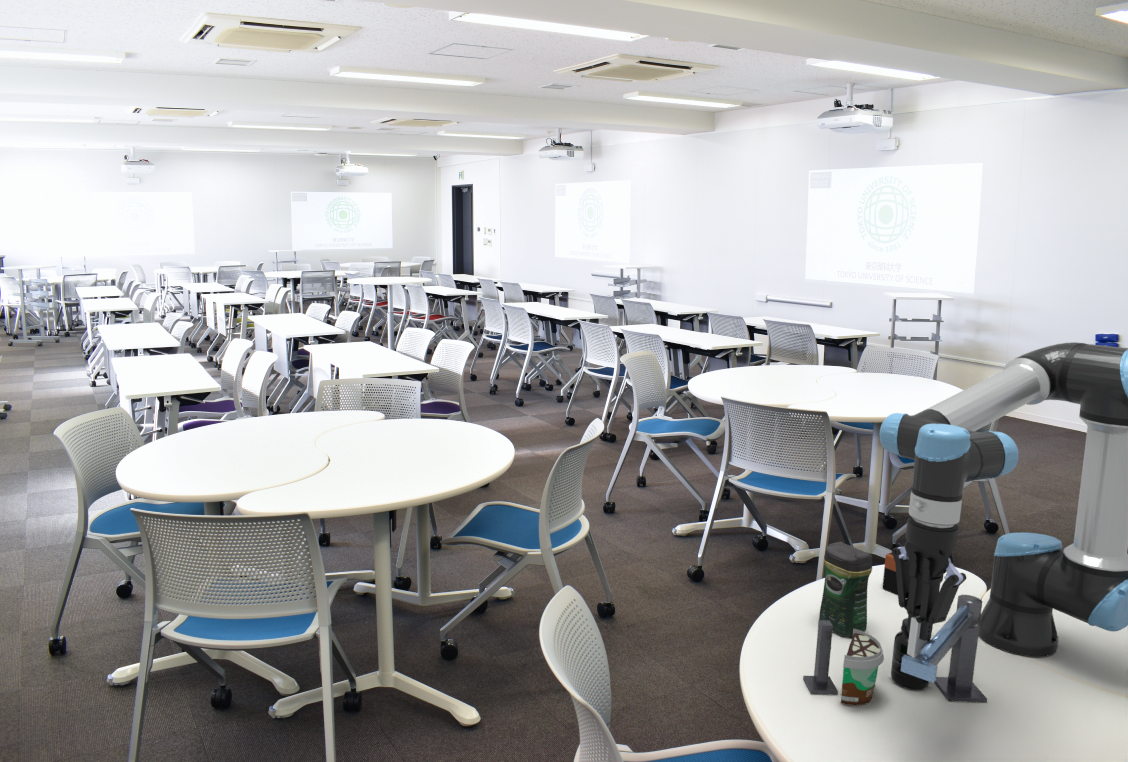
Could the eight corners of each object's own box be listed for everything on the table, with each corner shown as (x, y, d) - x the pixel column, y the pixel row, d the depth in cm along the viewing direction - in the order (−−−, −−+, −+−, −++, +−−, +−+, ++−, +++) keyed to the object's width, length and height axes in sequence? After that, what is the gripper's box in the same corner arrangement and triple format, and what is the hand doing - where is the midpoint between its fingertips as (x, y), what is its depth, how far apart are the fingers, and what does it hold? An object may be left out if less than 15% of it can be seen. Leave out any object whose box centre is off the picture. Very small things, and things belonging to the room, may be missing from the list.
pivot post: (968, 681, 152) (976, 615, 149) (987, 702, 145) (995, 634, 142) (931, 680, 152) (939, 614, 149) (948, 701, 145) (956, 632, 142)
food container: (875, 717, 140) (881, 665, 138) (839, 707, 142) (844, 656, 141) (883, 683, 150) (888, 635, 149) (849, 675, 153) (853, 627, 151)
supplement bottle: (932, 693, 147) (939, 634, 145) (894, 688, 149) (900, 629, 147) (924, 674, 154) (930, 617, 152) (887, 669, 155) (893, 613, 153)
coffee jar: (872, 633, 170) (880, 551, 167) (847, 641, 166) (854, 558, 163) (837, 614, 178) (844, 536, 175) (812, 621, 174) (819, 542, 171)
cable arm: (956, 611, 149) (958, 591, 148) (985, 620, 146) (987, 600, 145) (900, 673, 127) (902, 651, 126) (933, 686, 123) (935, 662, 123)
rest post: (829, 680, 151) (834, 617, 149) (837, 694, 146) (843, 629, 144) (803, 679, 151) (808, 616, 149) (810, 694, 146) (816, 629, 144)
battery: (907, 599, 187) (911, 559, 185) (881, 589, 192) (885, 550, 190) (917, 595, 189) (921, 555, 187) (891, 584, 194) (895, 546, 193)
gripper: (884, 509, 132) (869, 640, 136) (951, 537, 120) (932, 678, 124) (916, 504, 135) (901, 632, 139) (984, 531, 123) (965, 669, 128)
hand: (916, 654), depth 132 cm, fingers closed
